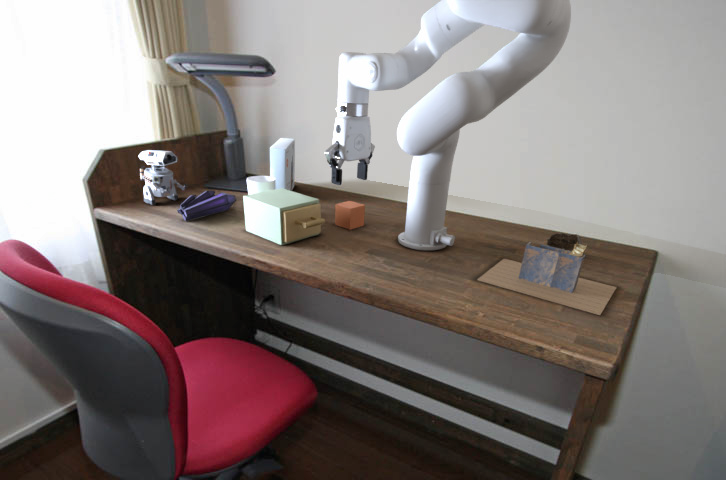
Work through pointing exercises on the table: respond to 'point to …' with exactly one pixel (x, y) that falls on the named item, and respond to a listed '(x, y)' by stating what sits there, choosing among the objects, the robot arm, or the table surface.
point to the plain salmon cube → (349, 214)
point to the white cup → (260, 184)
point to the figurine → (159, 175)
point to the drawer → (301, 222)
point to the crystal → (205, 204)
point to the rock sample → (564, 241)
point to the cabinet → (272, 212)
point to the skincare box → (283, 163)
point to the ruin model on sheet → (551, 278)
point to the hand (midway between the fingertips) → (349, 181)
